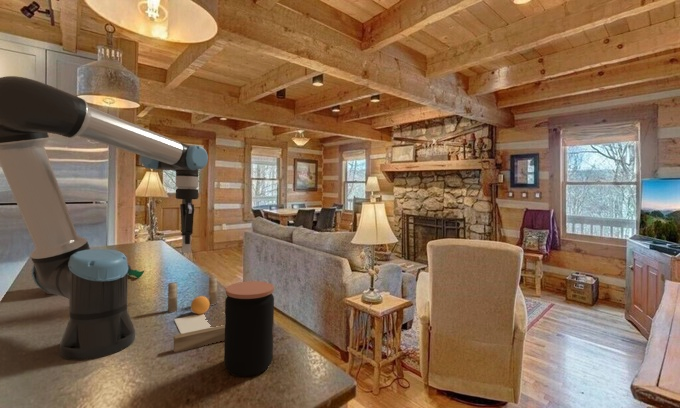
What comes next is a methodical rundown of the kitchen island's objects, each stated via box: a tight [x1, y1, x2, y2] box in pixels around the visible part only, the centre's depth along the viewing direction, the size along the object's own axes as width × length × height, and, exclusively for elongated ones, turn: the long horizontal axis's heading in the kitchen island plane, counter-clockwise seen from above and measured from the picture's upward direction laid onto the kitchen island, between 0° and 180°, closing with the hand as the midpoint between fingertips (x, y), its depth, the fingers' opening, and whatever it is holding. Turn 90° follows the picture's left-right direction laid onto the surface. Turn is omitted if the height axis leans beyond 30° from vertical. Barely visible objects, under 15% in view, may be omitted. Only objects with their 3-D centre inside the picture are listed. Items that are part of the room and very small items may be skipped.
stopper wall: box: [173, 325, 225, 354], centre depth 85 cm, size 2×20×4 cm, turn 125°
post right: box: [208, 276, 218, 304], centre depth 112 cm, size 3×3×9 cm
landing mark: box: [173, 313, 212, 334], centre depth 97 cm, size 14×14×1 cm
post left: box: [167, 282, 178, 313], centre depth 105 cm, size 3×3×9 cm
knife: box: [128, 264, 145, 279], centre depth 144 cm, size 20×2×5 cm, turn 61°
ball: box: [190, 295, 211, 315], centre depth 103 cm, size 6×6×6 cm
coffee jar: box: [223, 280, 275, 378], centre depth 74 cm, size 11×11×18 cm
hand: (186, 252), depth 119 cm, fingers closed
